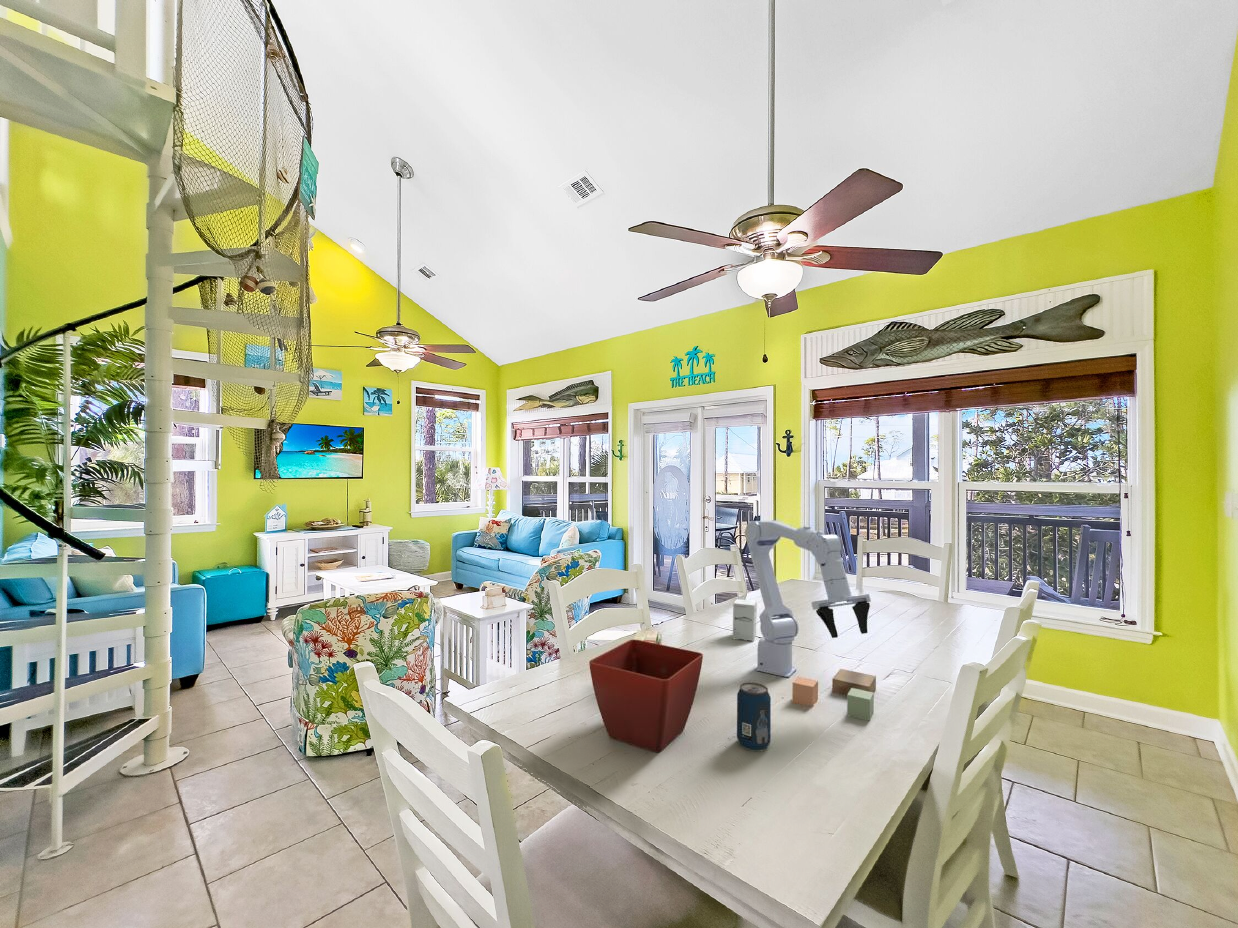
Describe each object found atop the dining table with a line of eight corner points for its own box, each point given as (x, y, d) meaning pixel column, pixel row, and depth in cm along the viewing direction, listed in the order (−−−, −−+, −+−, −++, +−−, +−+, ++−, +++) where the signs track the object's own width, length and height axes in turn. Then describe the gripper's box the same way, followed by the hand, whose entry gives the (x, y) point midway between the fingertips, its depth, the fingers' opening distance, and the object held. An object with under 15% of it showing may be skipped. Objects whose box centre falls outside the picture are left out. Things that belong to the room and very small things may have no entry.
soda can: (745, 733, 120) (746, 678, 120) (775, 743, 116) (776, 686, 116) (730, 745, 115) (731, 688, 115) (761, 756, 110) (762, 697, 111)
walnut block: (832, 693, 143) (832, 678, 143) (840, 683, 151) (840, 668, 151) (869, 702, 138) (869, 686, 138) (875, 691, 145) (875, 676, 146)
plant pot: (665, 766, 106) (666, 679, 107) (586, 740, 117) (586, 661, 117) (704, 728, 123) (704, 653, 123) (631, 707, 133) (632, 638, 133)
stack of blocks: (641, 661, 166) (641, 621, 166) (661, 663, 165) (662, 622, 165) (630, 688, 145) (630, 642, 145) (653, 690, 144) (653, 644, 144)
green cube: (847, 715, 130) (847, 694, 130) (851, 708, 134) (851, 687, 134) (870, 721, 127) (870, 699, 127) (873, 713, 131) (873, 692, 131)
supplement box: (732, 639, 188) (732, 602, 189) (735, 633, 195) (736, 598, 195) (753, 642, 186) (754, 605, 186) (756, 636, 192) (757, 600, 193)
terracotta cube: (792, 702, 137) (792, 682, 137) (798, 695, 141) (798, 676, 141) (812, 707, 134) (812, 687, 134) (817, 700, 138) (818, 680, 138)
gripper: (814, 582, 135) (828, 639, 131) (869, 574, 137) (885, 630, 132) (804, 585, 142) (817, 639, 138) (857, 578, 143) (871, 632, 139)
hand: (849, 635), depth 135 cm, fingers open, 7 cm apart
